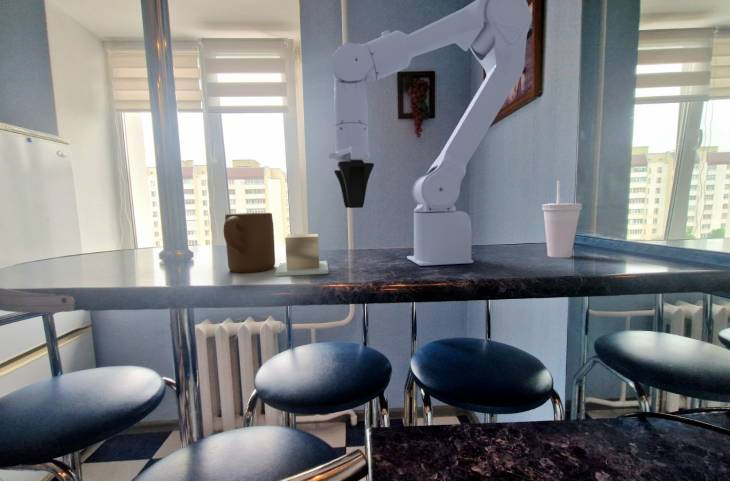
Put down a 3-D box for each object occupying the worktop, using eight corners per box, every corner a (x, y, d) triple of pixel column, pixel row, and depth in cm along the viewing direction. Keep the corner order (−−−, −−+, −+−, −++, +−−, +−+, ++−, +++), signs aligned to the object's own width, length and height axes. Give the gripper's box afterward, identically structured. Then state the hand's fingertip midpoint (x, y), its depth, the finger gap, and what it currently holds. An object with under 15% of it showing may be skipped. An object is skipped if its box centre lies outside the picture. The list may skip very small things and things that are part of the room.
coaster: (326, 264, 58) (326, 260, 57) (328, 273, 50) (328, 269, 50) (280, 266, 56) (280, 263, 56) (275, 276, 48) (274, 272, 48)
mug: (256, 279, 46) (252, 214, 45) (204, 280, 47) (199, 215, 46) (281, 264, 58) (278, 212, 57) (240, 265, 59) (236, 213, 58)
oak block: (318, 262, 56) (317, 233, 55) (319, 268, 51) (318, 236, 50) (289, 264, 55) (287, 235, 54) (286, 269, 50) (285, 237, 50)
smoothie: (547, 252, 65) (550, 181, 63) (584, 255, 60) (588, 179, 58) (533, 256, 61) (536, 180, 59) (572, 260, 56) (576, 178, 54)
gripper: (326, 136, 61) (328, 207, 63) (329, 114, 47) (332, 208, 48) (362, 136, 62) (364, 207, 64) (377, 115, 48) (378, 207, 50)
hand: (353, 207), depth 56 cm, fingers open, 7 cm apart
